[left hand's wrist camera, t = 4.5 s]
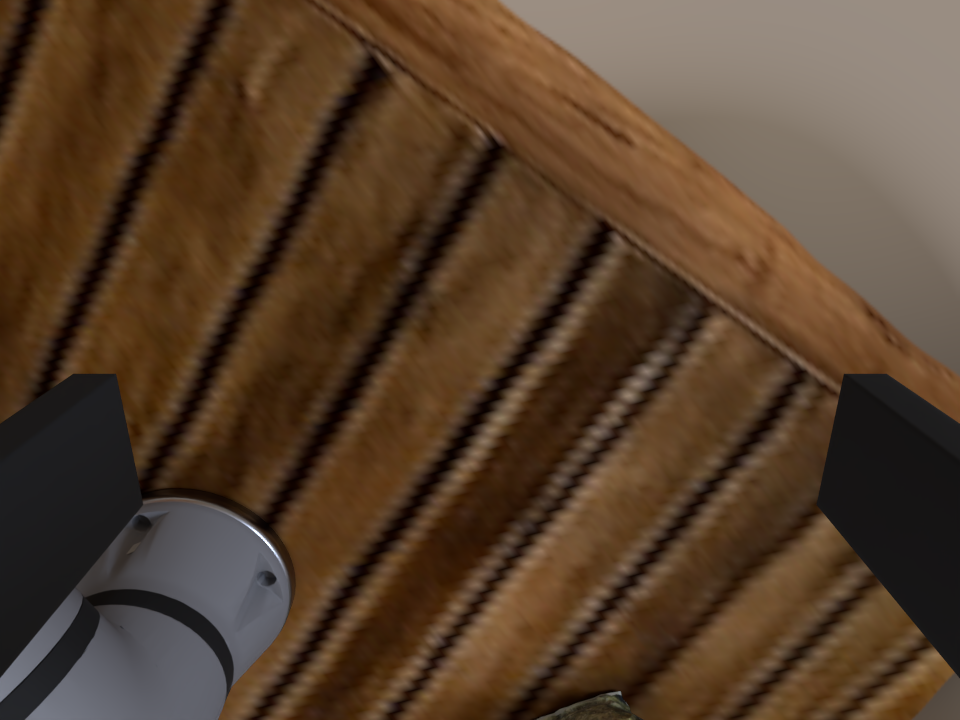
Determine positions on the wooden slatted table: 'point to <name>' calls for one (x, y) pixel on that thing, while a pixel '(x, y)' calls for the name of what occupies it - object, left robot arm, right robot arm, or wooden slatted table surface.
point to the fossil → (595, 709)
